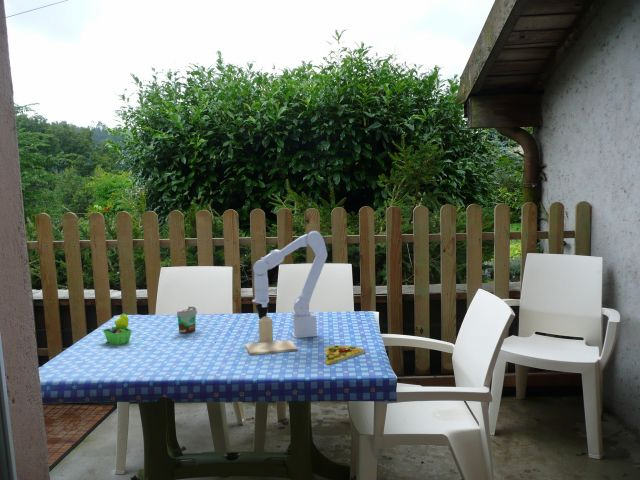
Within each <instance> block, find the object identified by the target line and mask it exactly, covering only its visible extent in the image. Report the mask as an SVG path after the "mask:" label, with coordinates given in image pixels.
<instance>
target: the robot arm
mask: <svg viewBox="0 0 640 480" xmlns="http://www.w3.org/2000/svg"><path fill="white" fill-rule="evenodd" d="M308 246H309V247H310V248H311V249H312V251H313V253H314V255H315V257H314V260H313V262H312V265H311V267H310V269H309V272H308V274H307V276H306V279H305V281H304V283H303V287H302V289H301V292H300V294H299V296H298V297H296V299H295V300H294V302H293V304H294V305H293V311H294V312H293V314H292V315H293V317H292V319H293V322H292V323H293V332H291V335H292V337H294V338H295V339H298V338H299V339H301V338H302V339H303V338H311V337H312V338H313V337H318V332H317V331H318V329H317V327H318V326H317V316H316V313H311V312H310V302H311V299H312V296H313V293H314V290H315V289H316V286H317V283H318V281H319V278H320V275H321V273H322V271H323V269H324V266H325V263H326V261H327V258H328V251H327V246H326V243H325V239H324V237H323V236H322V234H321V233H320V232H319V231H317V230H311V231H310V232H308V234H307V233H306V234H303V235H301V236H300V237H298V238H296V239H294V241H292V242H290V243H289V244H287V245H286V246H284V247H283V248H282V249H272V250H270V251H269V253H268V254H267V255H265V256H264V257H263V256H261V257H260V259H259V260H257V261H256V262H255V263H254V264H253V267H252V268H253V269H252V270H253V272H254V278H253V283H254V284H253V285H254V287H253V288H254V299H252V300H251V302H252V303H256V304H254V306H255V309H256V311H257V313H258V321H259V320H260V319H261V318H262V317H264V316H267V313H268V311H269V308H270V305H269V302H270V298H269V294H270V293H269V278H268V277H269V276H268V271H269V270H272V269H273V268H276V266H278V265H279V264H281V263H283V261H284V260H285V257H286V256H288V255H289V254H291V253H293V252H294V251H297V250H298V249H300V248H306V247H308Z"/></svg>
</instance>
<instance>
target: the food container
mask: <svg viewBox="0 0 640 480" xmlns="http://www.w3.org/2000/svg"><path fill="white" fill-rule="evenodd" d="M197 314H198V309H197V308H196V307H195V306H190V305H189V306H188V308H187V309H183V310H181V311H177V313H176V317H177V323H178V334H179V335H182V334H183V335H185V334H190V333H191V334H192V333H194V332H196V325H197V324H196V323H197V322H196V319H197Z"/></svg>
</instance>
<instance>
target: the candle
mask: <svg viewBox="0 0 640 480" xmlns="http://www.w3.org/2000/svg"><path fill="white" fill-rule="evenodd" d="M273 327H274V326H273V319H272V318H271V317H270V316H267V315H266V316H264V317H262V318H261V319H260V320H259V319H258V340H259V342H258V343H262V342H273V341H274V333H273V332H274V331H273V330H274V329H273Z"/></svg>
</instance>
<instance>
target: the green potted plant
mask: <svg viewBox="0 0 640 480" xmlns="http://www.w3.org/2000/svg"><path fill="white" fill-rule="evenodd" d="M129 320H130V317H129V316H128V314H126V313H121V314H120V316H119V317H118V318H116V320H114V324H115V326H111V328H106V329H103V330H102V332H103V334H104V335H105V336H104V337H105V339H106V342H107V343H111V344H114V345H117V346H118V345H122V344H126V343H130V338H131V334H132V331H133V330H132V329H130V328H128V327H129V323H130V322H129Z"/></svg>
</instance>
